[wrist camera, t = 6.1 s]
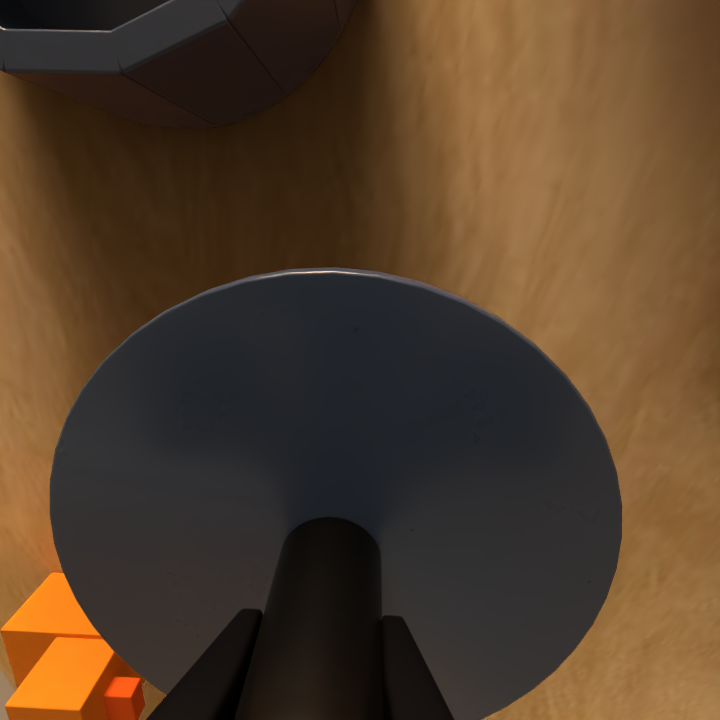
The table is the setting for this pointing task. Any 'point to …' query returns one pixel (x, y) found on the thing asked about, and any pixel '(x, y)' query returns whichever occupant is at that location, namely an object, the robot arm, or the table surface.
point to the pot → (170, 53)
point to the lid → (337, 494)
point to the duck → (66, 662)
